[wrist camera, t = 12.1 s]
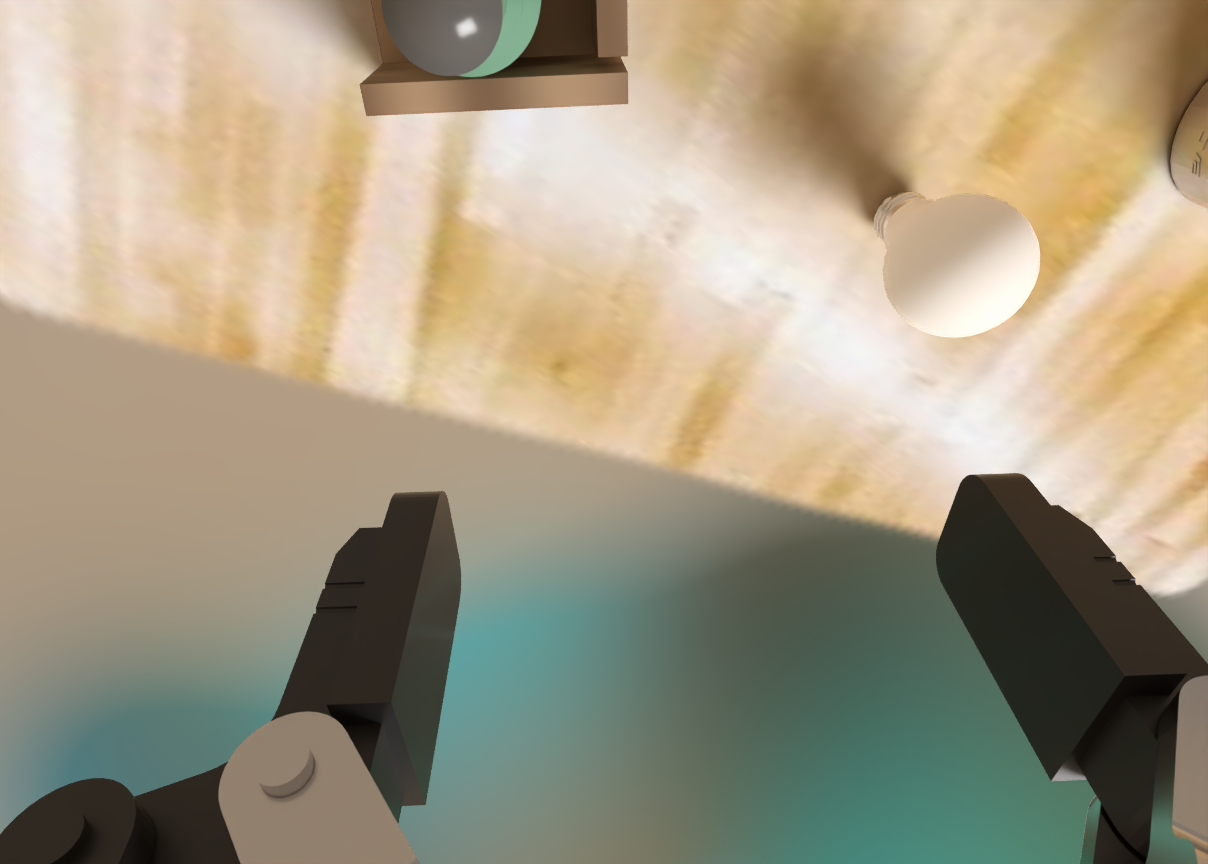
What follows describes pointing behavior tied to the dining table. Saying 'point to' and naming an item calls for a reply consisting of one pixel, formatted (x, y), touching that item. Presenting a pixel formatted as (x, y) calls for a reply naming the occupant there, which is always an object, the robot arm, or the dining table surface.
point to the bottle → (461, 33)
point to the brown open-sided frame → (516, 67)
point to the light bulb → (956, 261)
